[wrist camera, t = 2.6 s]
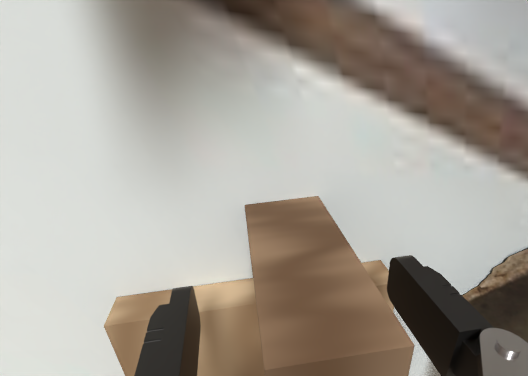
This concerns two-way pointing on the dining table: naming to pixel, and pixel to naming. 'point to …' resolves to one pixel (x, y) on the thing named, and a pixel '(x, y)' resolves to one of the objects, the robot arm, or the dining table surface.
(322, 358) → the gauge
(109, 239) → the dining table surface
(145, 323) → the board
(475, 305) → the radio
